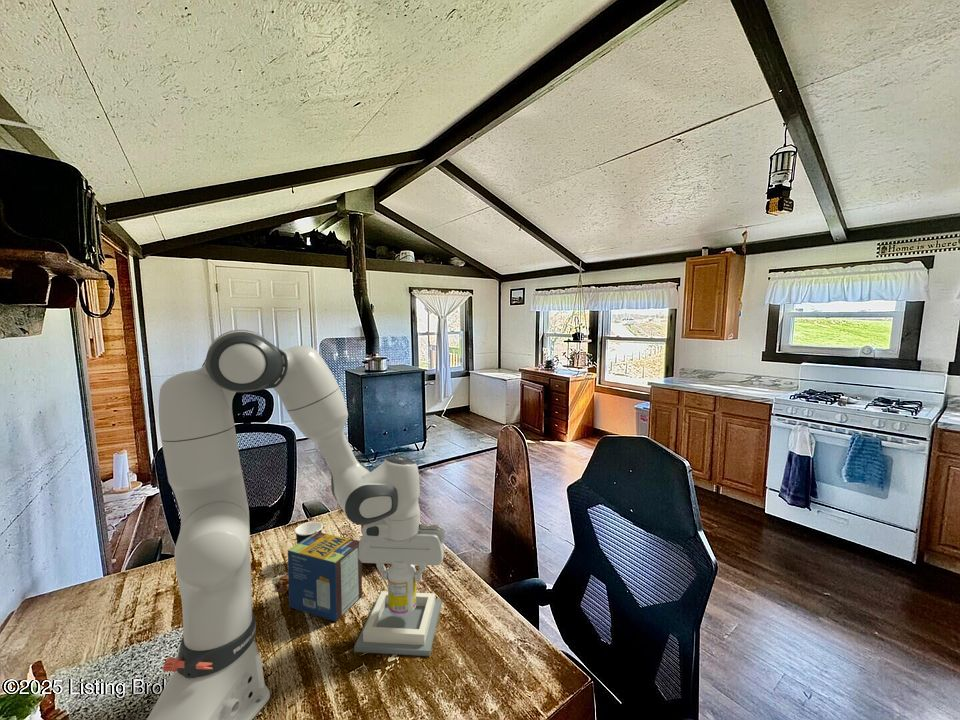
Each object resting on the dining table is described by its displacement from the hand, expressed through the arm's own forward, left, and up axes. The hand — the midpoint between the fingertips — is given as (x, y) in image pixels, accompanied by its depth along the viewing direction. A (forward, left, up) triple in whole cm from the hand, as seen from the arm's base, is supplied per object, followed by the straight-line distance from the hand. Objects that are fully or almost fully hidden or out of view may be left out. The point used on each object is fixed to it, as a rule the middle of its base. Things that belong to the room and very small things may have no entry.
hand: (401, 579), depth 95 cm
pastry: (+13, +36, -13) cm, 40 cm away
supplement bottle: (0, 0, -8) cm, 8 cm away
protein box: (+7, +22, -12) cm, 26 cm away
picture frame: (0, 0, -12) cm, 12 cm away
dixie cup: (+24, +35, -12) cm, 44 cm away
